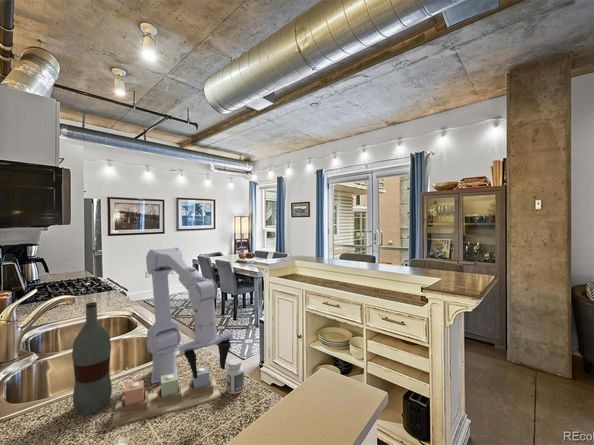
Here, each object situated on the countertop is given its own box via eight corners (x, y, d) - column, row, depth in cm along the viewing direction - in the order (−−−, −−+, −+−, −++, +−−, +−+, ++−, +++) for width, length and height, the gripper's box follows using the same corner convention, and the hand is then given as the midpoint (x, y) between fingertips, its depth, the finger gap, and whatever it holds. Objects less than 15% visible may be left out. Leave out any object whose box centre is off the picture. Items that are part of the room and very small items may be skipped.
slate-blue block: (192, 383, 91) (192, 368, 91) (207, 379, 93) (207, 365, 93) (194, 390, 88) (194, 375, 87) (209, 386, 89) (209, 371, 89)
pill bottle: (245, 385, 94) (245, 358, 94) (241, 394, 89) (240, 366, 89) (229, 384, 95) (229, 357, 95) (224, 394, 90) (223, 365, 90)
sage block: (161, 390, 88) (160, 375, 88) (176, 387, 89) (176, 371, 89) (161, 398, 84) (161, 382, 84) (177, 394, 86) (177, 378, 85)
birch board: (116, 403, 85) (116, 393, 85) (214, 380, 98) (214, 371, 98) (111, 427, 76) (111, 416, 76) (220, 398, 88) (220, 388, 88)
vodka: (117, 395, 89) (116, 298, 89) (102, 415, 80) (101, 307, 80) (84, 398, 88) (82, 299, 88) (65, 419, 79) (63, 309, 79)
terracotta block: (126, 399, 84) (126, 382, 84) (143, 395, 86) (143, 379, 86) (125, 408, 80) (124, 391, 80) (143, 403, 82) (142, 386, 82)
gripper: (181, 332, 76) (185, 386, 75) (234, 320, 83) (238, 368, 82) (176, 327, 82) (180, 377, 81) (226, 316, 89) (230, 361, 88)
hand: (209, 372), depth 82 cm, fingers open, 7 cm apart
